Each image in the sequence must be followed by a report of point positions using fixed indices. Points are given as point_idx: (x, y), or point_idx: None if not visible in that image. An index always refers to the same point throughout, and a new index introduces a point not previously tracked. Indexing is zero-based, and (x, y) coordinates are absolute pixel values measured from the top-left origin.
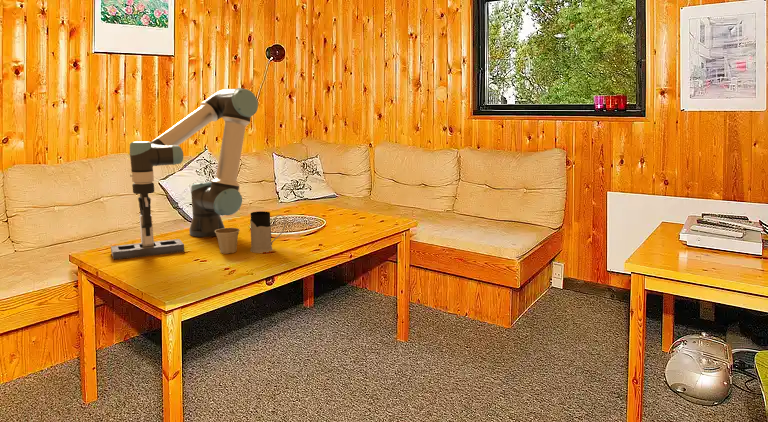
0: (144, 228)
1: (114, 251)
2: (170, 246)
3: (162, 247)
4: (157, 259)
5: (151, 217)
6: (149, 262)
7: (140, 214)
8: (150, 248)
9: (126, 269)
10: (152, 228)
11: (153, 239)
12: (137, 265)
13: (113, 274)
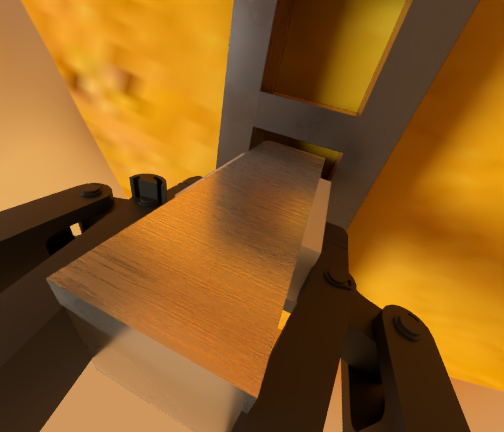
0: (298, 291)
1: (290, 309)
2: (441, 60)
3: (403, 130)
4: (475, 199)
5: (269, 345)
6: (485, 252)
7: (97, 366)
8: (361, 201)
9: (480, 344)
10: (307, 220)
11: (319, 175)
12: (471, 300)
13: (493, 387)
